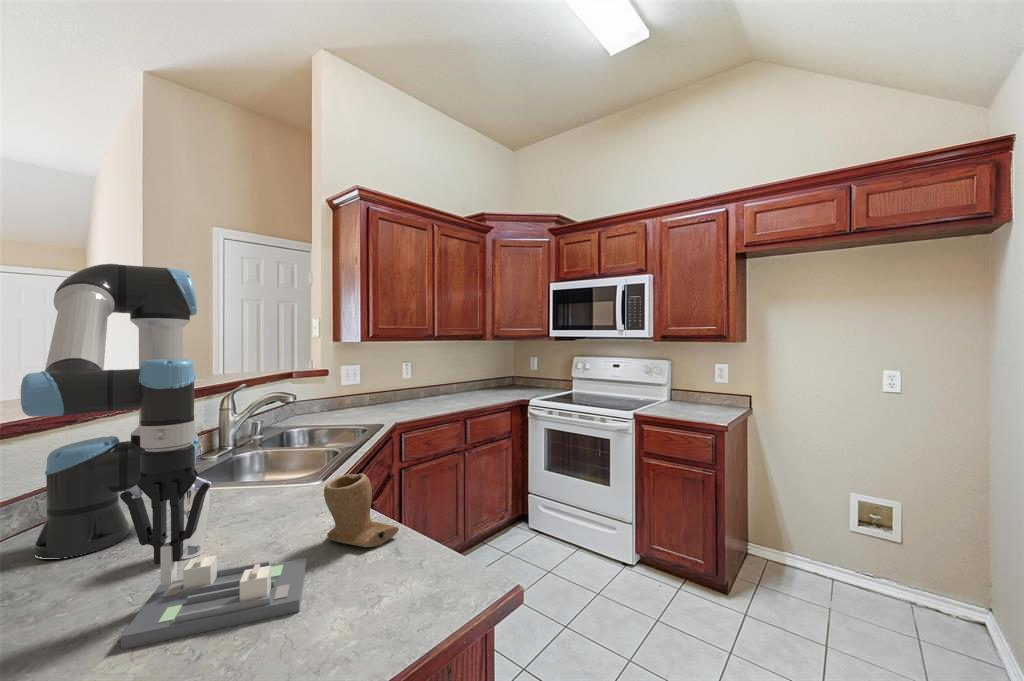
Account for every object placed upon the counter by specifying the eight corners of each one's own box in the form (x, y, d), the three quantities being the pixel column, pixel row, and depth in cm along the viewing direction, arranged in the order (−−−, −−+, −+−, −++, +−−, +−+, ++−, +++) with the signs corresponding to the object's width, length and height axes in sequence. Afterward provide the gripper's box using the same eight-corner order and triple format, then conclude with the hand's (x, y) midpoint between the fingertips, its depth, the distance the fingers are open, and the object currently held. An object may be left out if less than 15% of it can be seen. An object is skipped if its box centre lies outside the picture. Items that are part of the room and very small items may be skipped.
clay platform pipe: (312, 545, 96) (312, 479, 96) (353, 524, 107) (352, 465, 107) (362, 560, 90) (361, 489, 90) (400, 537, 100) (400, 473, 100)
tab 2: (239, 606, 71) (239, 577, 71) (244, 592, 74) (244, 565, 74) (267, 600, 72) (267, 572, 72) (271, 587, 76) (270, 561, 76)
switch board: (121, 649, 64) (120, 629, 64) (160, 594, 78) (160, 577, 78) (299, 611, 73) (299, 593, 73) (306, 567, 87) (306, 553, 87)
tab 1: (183, 593, 75) (183, 565, 75) (191, 581, 78) (190, 554, 78) (210, 588, 76) (210, 561, 76) (216, 576, 80) (216, 550, 80)
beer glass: (217, 547, 95) (217, 480, 95) (185, 563, 89) (184, 491, 89) (196, 542, 98) (195, 477, 98) (162, 557, 91) (162, 487, 91)
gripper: (110, 455, 69) (111, 600, 69) (205, 447, 74) (206, 583, 74) (132, 445, 76) (132, 576, 76) (217, 438, 81) (218, 562, 81)
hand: (168, 580), depth 75 cm, fingers closed
